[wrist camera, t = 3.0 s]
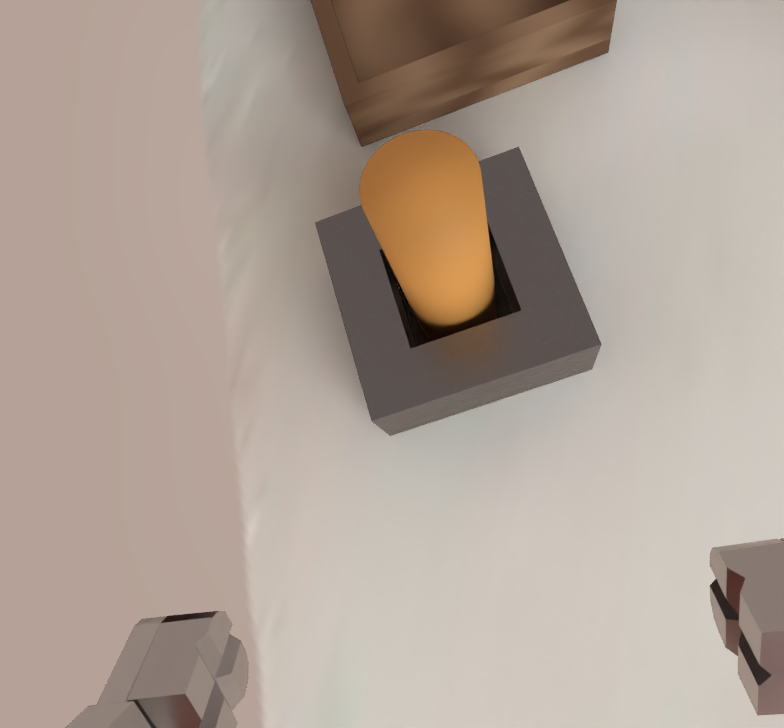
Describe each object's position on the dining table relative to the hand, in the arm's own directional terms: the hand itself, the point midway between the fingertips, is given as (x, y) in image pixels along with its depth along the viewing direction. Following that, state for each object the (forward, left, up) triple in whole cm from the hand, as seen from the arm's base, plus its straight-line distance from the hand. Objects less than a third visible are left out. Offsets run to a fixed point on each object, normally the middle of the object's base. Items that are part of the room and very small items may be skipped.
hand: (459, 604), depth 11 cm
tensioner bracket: (-2, -12, -19) cm, 22 cm away
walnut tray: (-7, -31, -19) cm, 37 cm away
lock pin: (-2, -12, -19) cm, 23 cm away
